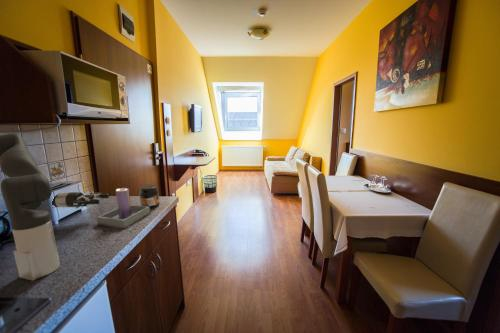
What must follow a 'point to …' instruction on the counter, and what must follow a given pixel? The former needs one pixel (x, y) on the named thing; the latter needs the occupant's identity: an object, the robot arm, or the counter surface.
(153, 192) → the supplement container
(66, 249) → the counter surface
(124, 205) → the beverage can
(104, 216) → the tray
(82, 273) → the counter surface
